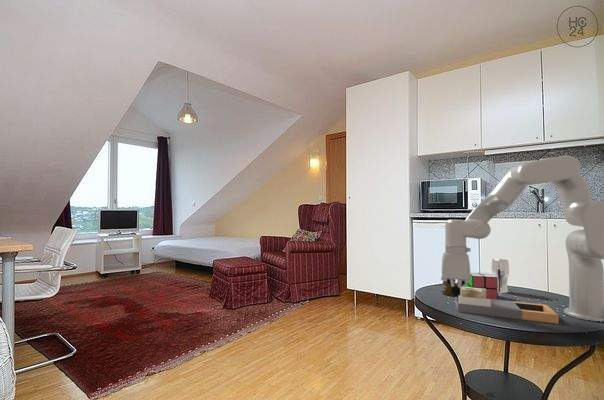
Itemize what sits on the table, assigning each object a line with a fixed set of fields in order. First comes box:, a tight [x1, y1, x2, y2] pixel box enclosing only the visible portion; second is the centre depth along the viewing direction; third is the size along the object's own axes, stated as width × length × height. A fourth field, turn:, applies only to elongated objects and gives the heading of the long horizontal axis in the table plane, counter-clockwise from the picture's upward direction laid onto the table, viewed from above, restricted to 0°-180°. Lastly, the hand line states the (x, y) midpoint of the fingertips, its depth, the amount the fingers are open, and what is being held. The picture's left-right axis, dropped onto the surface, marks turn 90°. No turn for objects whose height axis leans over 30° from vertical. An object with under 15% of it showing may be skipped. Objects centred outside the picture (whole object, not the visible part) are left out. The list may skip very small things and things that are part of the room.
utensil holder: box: [441, 279, 457, 297], centre depth 143 cm, size 6×6×12 cm
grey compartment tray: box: [454, 286, 560, 325], centre depth 118 cm, size 31×12×7 cm, turn 68°
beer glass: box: [491, 258, 510, 294], centre depth 149 cm, size 7×7×15 cm
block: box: [461, 288, 484, 299], centre depth 122 cm, size 7×6×4 cm
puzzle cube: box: [465, 271, 499, 300], centre depth 140 cm, size 10×10×10 cm
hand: (455, 296), depth 124 cm, fingers closed
